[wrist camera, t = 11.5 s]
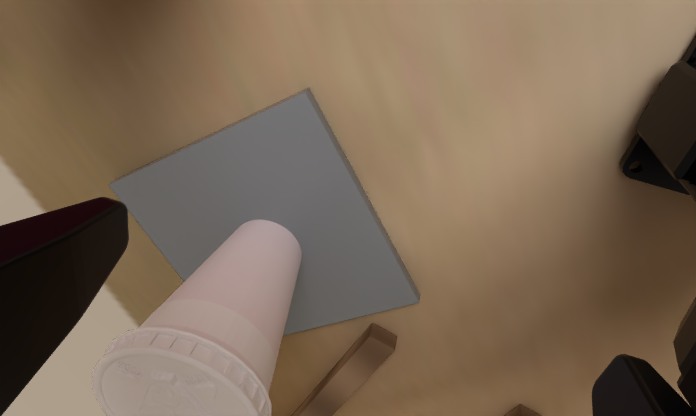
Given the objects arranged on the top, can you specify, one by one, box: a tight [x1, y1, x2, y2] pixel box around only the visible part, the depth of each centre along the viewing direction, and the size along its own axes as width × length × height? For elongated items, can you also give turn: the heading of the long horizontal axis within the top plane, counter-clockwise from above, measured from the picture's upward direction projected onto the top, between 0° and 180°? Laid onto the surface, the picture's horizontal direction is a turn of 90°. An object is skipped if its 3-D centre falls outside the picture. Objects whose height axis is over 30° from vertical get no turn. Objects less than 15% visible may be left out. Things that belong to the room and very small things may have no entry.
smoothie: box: [92, 220, 302, 416], centre depth 19 cm, size 6×6×14 cm
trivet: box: [109, 88, 420, 336], centre depth 25 cm, size 12×12×1 cm
